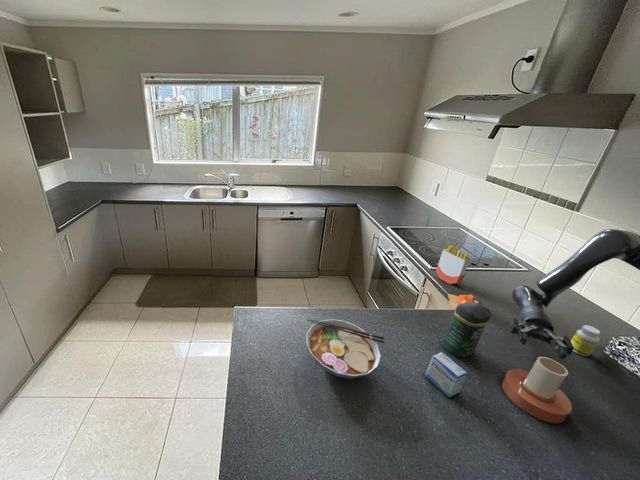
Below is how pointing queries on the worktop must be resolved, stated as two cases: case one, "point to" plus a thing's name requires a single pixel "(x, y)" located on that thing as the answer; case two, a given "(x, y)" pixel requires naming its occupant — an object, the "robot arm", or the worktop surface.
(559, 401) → the terracotta pedestal disc
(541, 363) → the cream cup
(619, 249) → the robot arm
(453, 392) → the medicine box
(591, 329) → the supplement bottle
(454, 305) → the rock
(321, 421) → the worktop surface
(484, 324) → the coffee jar
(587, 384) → the worktop surface
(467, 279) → the worktop surface
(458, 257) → the french fries container
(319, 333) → the ramen bowl
